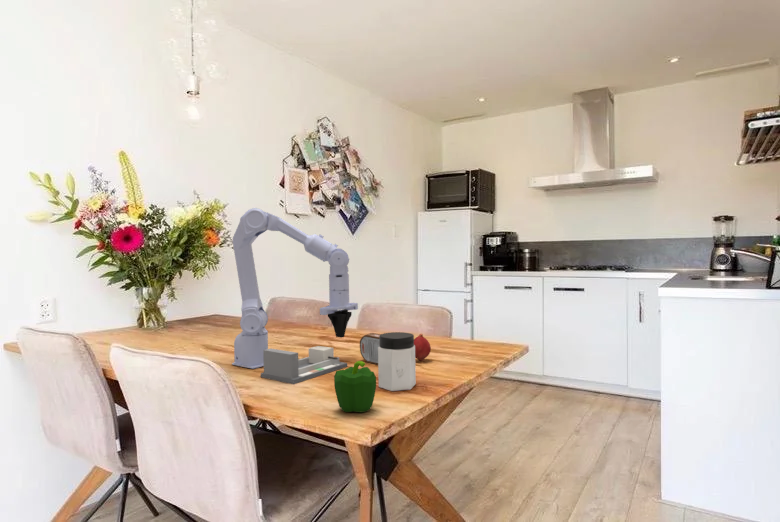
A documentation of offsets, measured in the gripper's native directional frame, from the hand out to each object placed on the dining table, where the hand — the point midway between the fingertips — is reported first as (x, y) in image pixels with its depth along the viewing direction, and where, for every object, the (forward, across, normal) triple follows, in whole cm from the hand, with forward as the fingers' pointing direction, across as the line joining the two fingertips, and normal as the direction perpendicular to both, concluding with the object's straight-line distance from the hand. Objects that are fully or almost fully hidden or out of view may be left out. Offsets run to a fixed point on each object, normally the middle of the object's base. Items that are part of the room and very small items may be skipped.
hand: (340, 336), depth 134 cm
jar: (+7, -12, -28) cm, 31 cm away
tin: (+7, +3, -12) cm, 14 cm away
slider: (+6, -8, -1) cm, 10 cm away
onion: (+7, +12, -20) cm, 24 cm away
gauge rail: (+7, -14, 0) cm, 16 cm away
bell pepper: (+7, -30, -30) cm, 43 cm away
